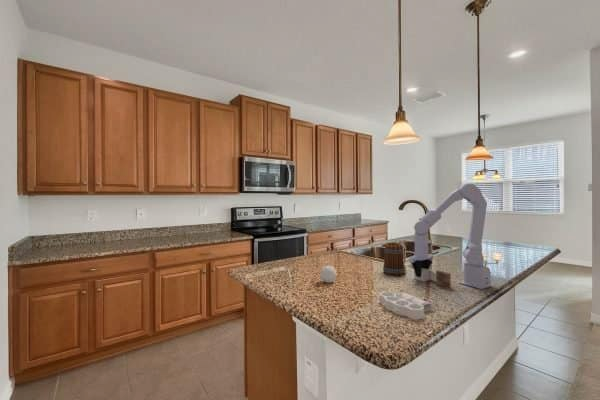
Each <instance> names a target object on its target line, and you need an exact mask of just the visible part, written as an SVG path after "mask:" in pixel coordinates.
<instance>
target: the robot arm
mask: <svg viewBox="0 0 600 400" xmlns="http://www.w3.org/2000/svg"><path fill="white" fill-rule="evenodd" d="M462 200H466V201H467V202H468V203H469V204H470V205H471V206H472V211H471V219H470V225H469V226H470V227H469V232H468V239H467V243H466V246H465V248H464V250H463V252H462V255H463V257H464V260H463V280H462V281H459V284H462V285H464V286H469V287H473V288H476V289H480V290H484V289H487V288H490V287H493V285H492V283H491V282H492V281H491V280H492V279H491V274H492V272H491V269H490V267H488V266H486V265H484V263H483V262H484V260H485V259H484V255H483V246H482V243H483V235H484V228H485V221H486V214H487V206H488V203H487V200H486V199H485V197H484V195H483V193H482V190H481V189H480V188H479V187H478V186H476V184H473V183H465V184H461V185H460V186H459V187H458V188H457V189H455V190H454V191H451V193H450V194H449V195H448V196H447V197H446V198H445V199H444V200H443V201H442V202H441V203H440V204H439V205H438V206H437V207H436V208H430V210H429V209H427V210H426V213H425V214H424V215H423V216H422V217H419V219H418V221H416V223H414V226H413V228H414V237H413V238H414V254H413V256H411V257H409V258H408V262H409V263H410V264H411V266H412V268H413V271H414V270H415V274H416V276H417V277H421V271H422V268H425V269H430V267H431V265H432V263H433V260H434V254H429V239H428V232H429V229H430V228H432V227H433V226H434V225H435V224H436V223H437V222H438V221H440V220H441V218H442V213H444V212H445V211H446V210H447V209H448V208H450V207H451V206H452V205H453V204H454V203H455V202H458V201H462Z"/></svg>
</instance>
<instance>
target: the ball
mask: <svg viewBox="0 0 600 400" xmlns="http://www.w3.org/2000/svg"><path fill="white" fill-rule="evenodd" d="M319 275H320V279H321V280H322V281H323V282H324V283H327V284H329V283H333V282H335V280H336V279H337V277H338V273H337V270H336V268H335V267H334V266H331V265H326V266H322V268H321V270H320V272H319Z"/></svg>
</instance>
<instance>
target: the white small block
mask: <svg viewBox="0 0 600 400" xmlns="http://www.w3.org/2000/svg"><path fill="white" fill-rule="evenodd" d="M429 269H430V268H429ZM429 269H425V268H422V271H421V277H417V276H416V274H415V270H414V269H413V276H414V277H413V278H414V279H413V280H416V281H420V282H424V283H425V282H428V281H430V279H429Z"/></svg>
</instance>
